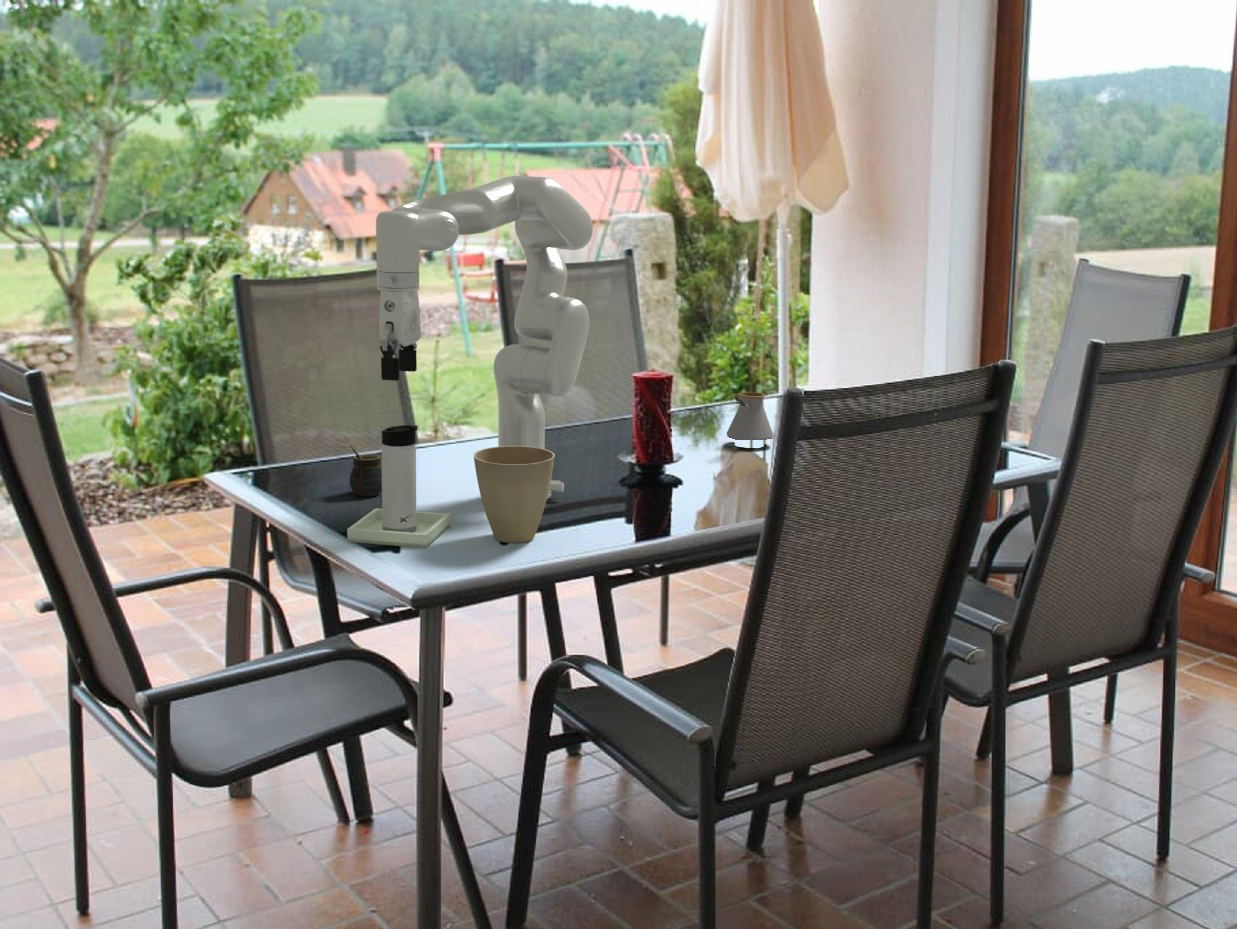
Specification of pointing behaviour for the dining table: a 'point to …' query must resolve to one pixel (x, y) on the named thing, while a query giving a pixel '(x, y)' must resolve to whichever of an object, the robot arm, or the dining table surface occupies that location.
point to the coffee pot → (750, 418)
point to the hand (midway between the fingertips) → (399, 375)
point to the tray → (423, 536)
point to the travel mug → (399, 479)
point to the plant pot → (514, 489)
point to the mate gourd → (366, 475)
